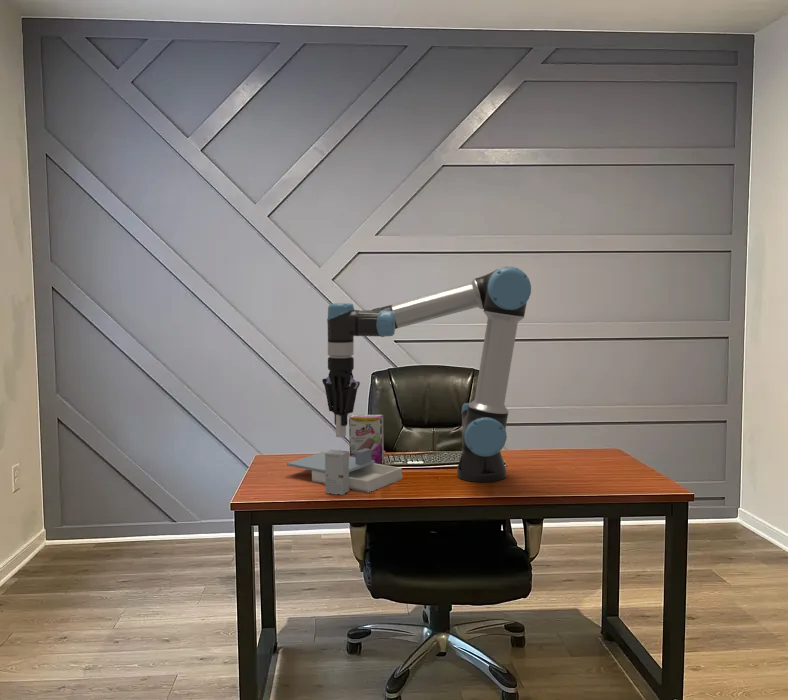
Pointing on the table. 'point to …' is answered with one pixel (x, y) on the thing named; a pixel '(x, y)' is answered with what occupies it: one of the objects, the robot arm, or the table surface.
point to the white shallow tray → (367, 477)
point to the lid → (318, 461)
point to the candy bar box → (367, 435)
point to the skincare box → (337, 472)
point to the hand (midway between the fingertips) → (341, 436)
